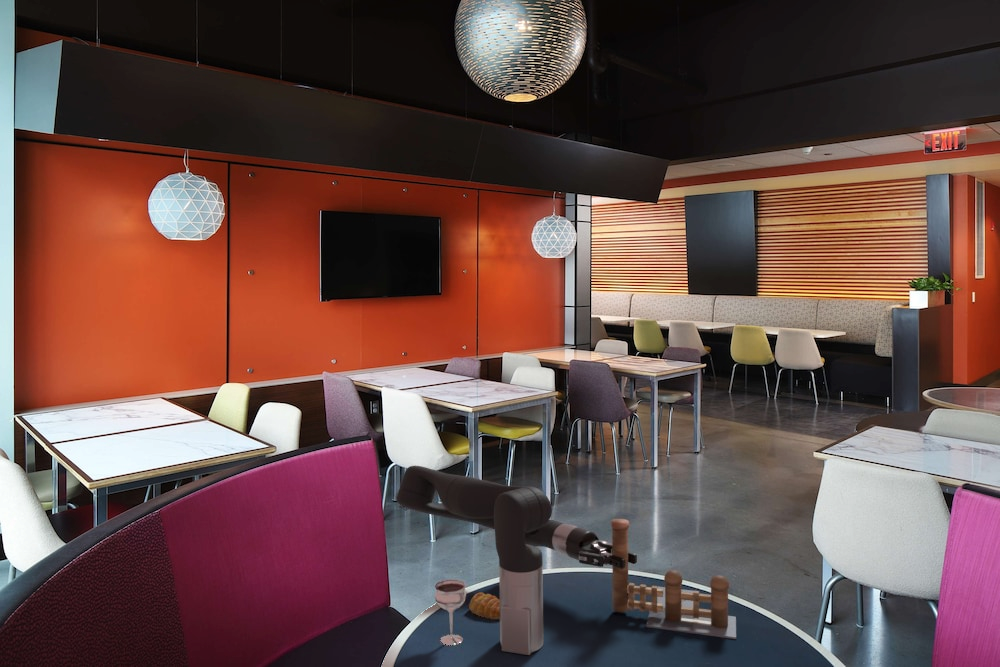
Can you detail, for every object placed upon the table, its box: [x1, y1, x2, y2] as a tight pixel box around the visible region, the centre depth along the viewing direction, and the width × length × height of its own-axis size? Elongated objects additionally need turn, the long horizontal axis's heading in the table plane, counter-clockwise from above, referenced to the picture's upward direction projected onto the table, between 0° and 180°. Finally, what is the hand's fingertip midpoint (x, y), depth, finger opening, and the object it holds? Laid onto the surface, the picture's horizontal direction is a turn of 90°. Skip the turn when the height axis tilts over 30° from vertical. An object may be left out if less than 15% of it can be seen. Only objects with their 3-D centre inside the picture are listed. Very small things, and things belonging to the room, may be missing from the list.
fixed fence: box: [663, 569, 730, 628], centre depth 156 cm, size 4×14×12 cm, turn 71°
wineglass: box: [434, 578, 467, 647], centre depth 150 cm, size 7×7×12 cm
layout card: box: [645, 585, 737, 640], centre depth 162 cm, size 22×19×1 cm
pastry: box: [468, 591, 500, 620], centre depth 162 cm, size 9×7×4 cm
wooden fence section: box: [610, 518, 663, 613], centre depth 159 cm, size 12×4×21 cm, turn 71°
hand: (629, 561), depth 158 cm, fingers closed on wooden fence section, 3 cm apart
